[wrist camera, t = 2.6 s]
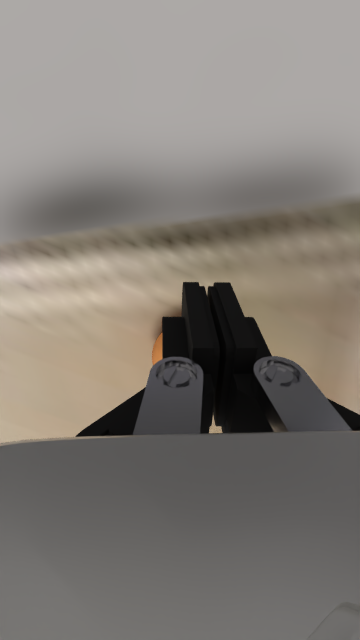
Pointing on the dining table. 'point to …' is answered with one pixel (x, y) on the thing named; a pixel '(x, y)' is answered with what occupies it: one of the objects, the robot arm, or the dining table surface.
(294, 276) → the dining table surface
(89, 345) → the dining table surface
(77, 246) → the dining table surface
